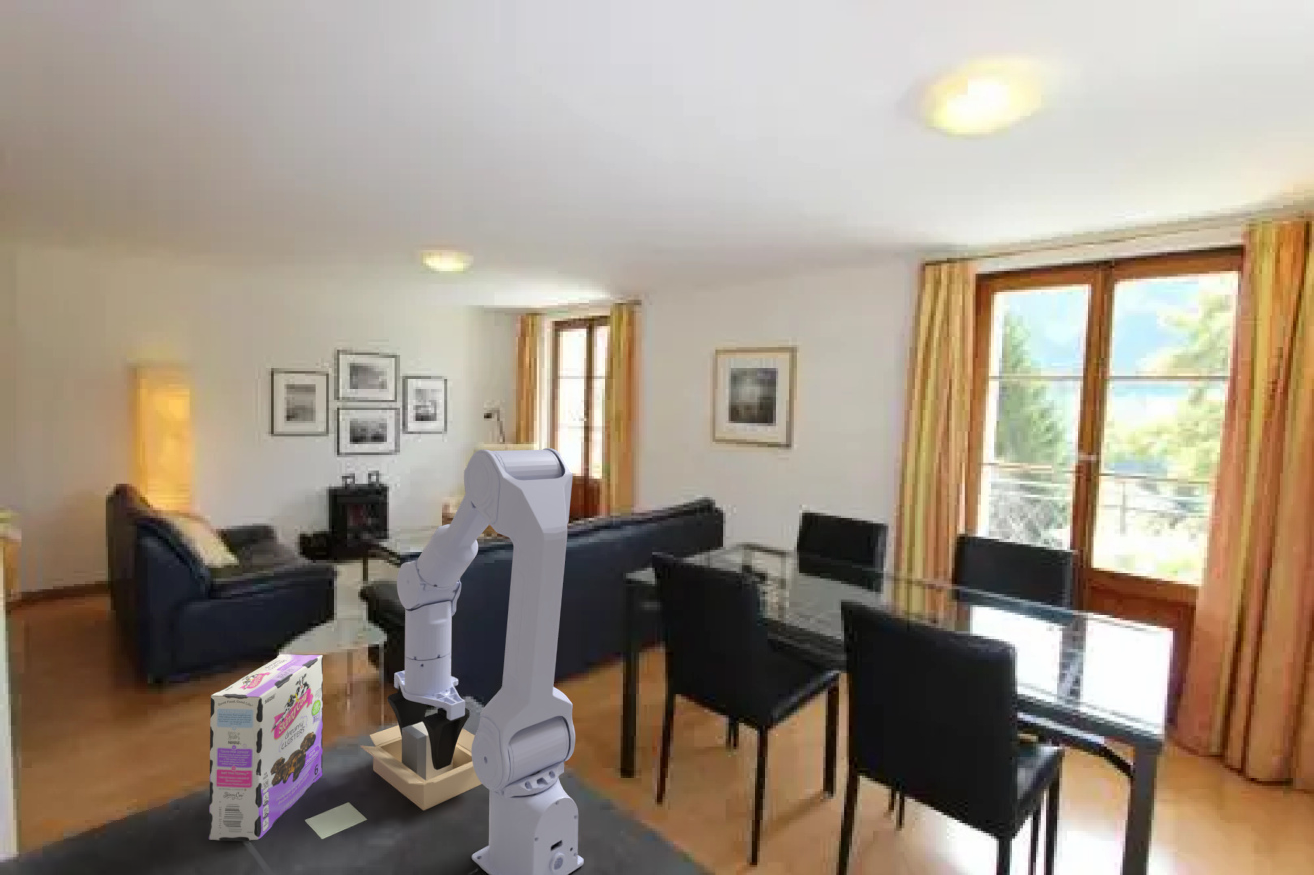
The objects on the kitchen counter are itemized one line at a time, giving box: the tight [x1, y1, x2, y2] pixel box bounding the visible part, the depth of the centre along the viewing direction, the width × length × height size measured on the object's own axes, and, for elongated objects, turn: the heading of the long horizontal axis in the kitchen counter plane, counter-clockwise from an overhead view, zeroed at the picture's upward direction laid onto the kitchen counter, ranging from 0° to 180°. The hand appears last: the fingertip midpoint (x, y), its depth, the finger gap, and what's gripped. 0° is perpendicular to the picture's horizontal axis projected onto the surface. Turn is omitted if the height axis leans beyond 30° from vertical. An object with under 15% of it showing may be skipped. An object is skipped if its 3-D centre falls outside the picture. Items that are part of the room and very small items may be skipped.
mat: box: [304, 802, 368, 840], centre depth 77 cm, size 5×5×1 cm
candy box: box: [208, 653, 324, 842], centre depth 80 cm, size 14×6×16 cm, turn 179°
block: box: [402, 722, 453, 781], centre depth 86 cm, size 5×4×7 cm
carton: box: [359, 724, 483, 811], centre depth 86 cm, size 12×17×4 cm
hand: (427, 755), depth 86 cm, fingers open, 7 cm apart
